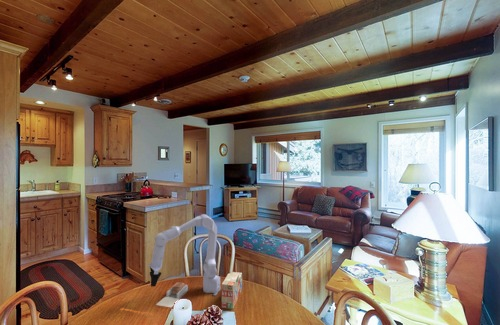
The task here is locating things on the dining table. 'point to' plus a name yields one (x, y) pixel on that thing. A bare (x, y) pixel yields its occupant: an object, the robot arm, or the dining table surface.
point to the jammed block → (177, 287)
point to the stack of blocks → (231, 290)
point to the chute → (172, 297)
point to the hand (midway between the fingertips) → (153, 282)
